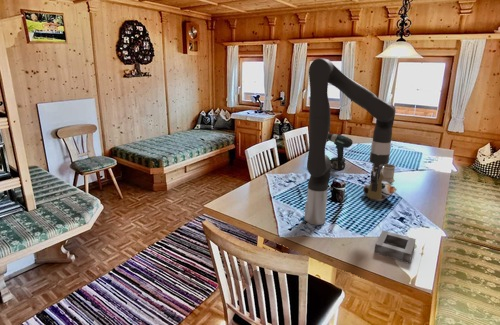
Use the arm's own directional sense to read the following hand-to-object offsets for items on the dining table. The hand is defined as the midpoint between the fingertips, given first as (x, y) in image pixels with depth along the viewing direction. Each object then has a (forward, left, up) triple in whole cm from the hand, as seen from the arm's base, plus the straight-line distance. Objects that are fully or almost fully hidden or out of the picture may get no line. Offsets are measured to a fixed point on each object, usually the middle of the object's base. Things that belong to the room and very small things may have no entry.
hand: (375, 189), depth 136 cm
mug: (-10, +75, -21) cm, 79 cm away
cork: (0, 0, -3) cm, 3 cm away
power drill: (-46, +83, -21) cm, 97 cm away
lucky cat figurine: (-6, +42, -21) cm, 47 cm away
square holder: (+12, -9, -21) cm, 26 cm away
